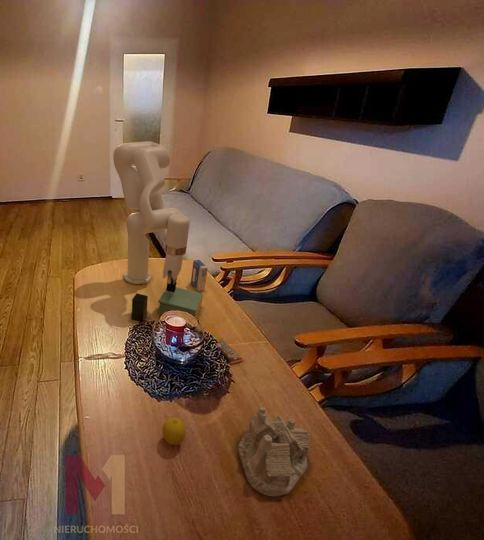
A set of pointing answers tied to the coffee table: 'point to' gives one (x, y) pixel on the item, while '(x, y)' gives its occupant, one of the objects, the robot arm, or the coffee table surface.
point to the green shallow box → (167, 307)
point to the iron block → (139, 307)
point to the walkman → (199, 275)
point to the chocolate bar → (228, 353)
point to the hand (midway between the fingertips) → (170, 290)
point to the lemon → (174, 431)
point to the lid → (181, 299)
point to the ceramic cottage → (273, 454)
